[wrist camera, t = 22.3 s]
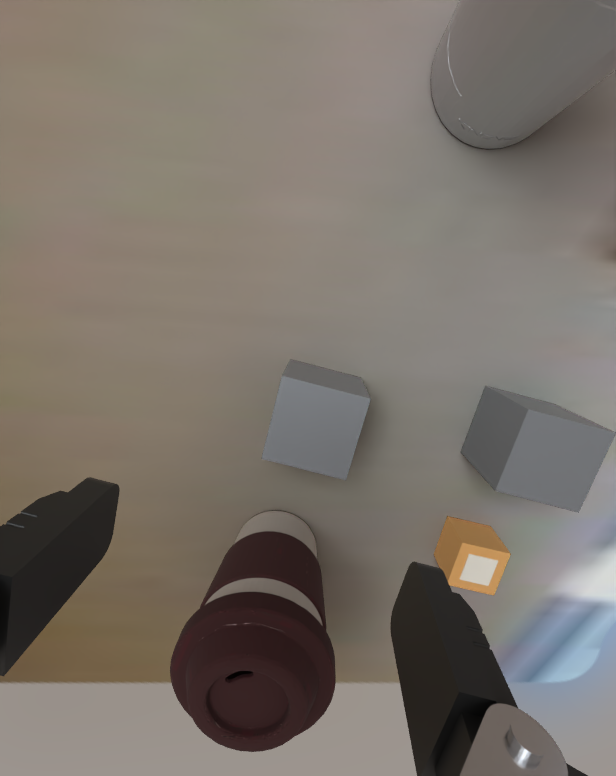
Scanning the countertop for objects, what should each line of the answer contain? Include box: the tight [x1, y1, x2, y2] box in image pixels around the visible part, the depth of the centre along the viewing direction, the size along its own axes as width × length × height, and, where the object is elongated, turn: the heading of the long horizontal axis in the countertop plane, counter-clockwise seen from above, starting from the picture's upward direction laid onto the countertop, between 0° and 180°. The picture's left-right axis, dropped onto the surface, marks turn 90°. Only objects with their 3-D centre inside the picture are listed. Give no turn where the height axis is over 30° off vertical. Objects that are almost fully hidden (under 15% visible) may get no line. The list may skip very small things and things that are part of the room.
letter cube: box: [434, 516, 511, 595], centre depth 34 cm, size 4×4×4 cm
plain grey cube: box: [262, 359, 371, 480], centre depth 30 cm, size 6×6×7 cm
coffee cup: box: [170, 511, 335, 752], centre depth 29 cm, size 10×10×15 cm
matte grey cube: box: [461, 386, 616, 513], centre depth 30 cm, size 6×6×7 cm
